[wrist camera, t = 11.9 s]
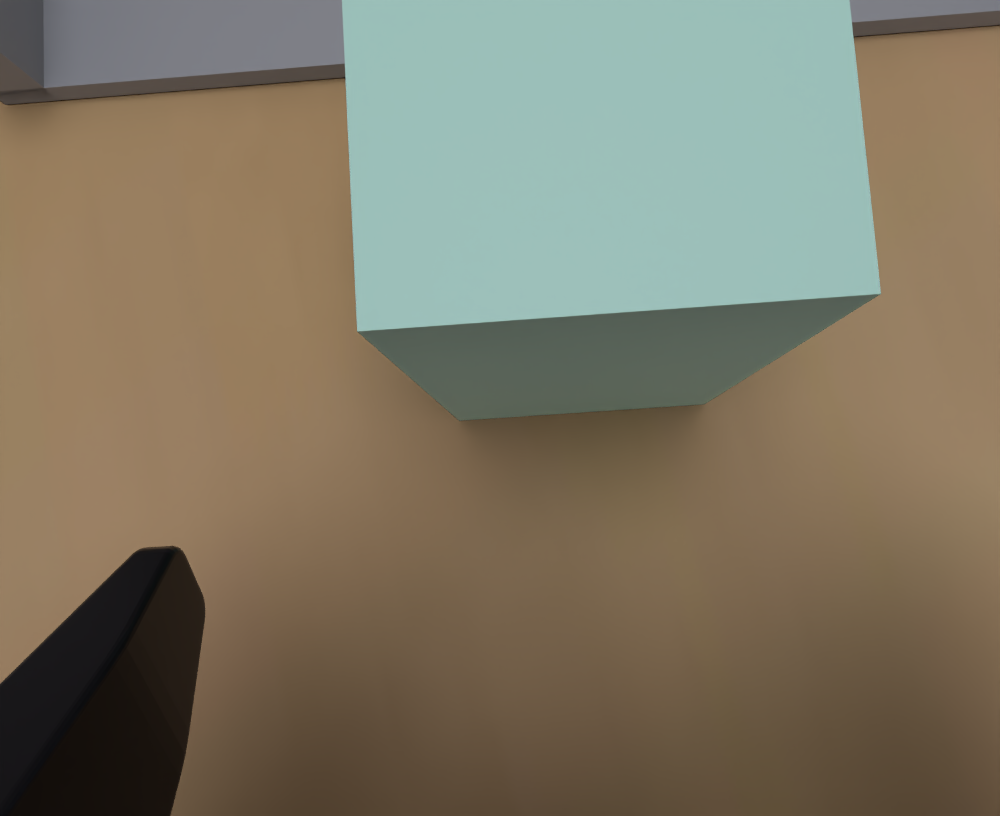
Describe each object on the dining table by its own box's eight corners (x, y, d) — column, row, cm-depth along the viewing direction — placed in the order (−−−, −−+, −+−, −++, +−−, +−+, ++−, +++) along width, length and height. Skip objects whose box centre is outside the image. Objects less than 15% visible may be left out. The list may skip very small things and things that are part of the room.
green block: (704, 404, 19) (880, 293, 9) (459, 420, 19) (356, 331, 9) (684, 165, 19) (828, -196, 9) (445, 185, 19) (335, -149, 9)
